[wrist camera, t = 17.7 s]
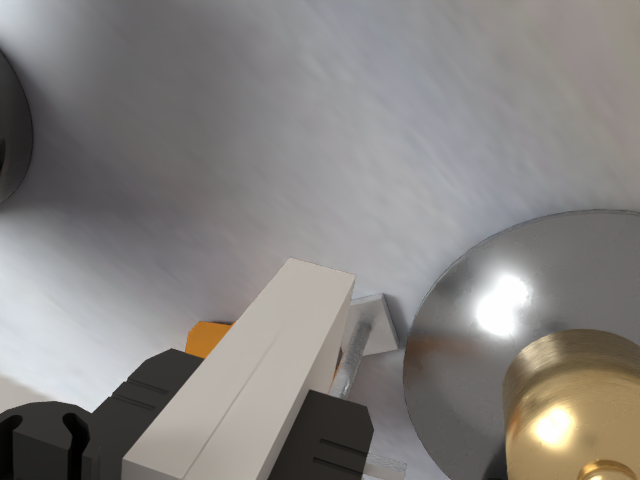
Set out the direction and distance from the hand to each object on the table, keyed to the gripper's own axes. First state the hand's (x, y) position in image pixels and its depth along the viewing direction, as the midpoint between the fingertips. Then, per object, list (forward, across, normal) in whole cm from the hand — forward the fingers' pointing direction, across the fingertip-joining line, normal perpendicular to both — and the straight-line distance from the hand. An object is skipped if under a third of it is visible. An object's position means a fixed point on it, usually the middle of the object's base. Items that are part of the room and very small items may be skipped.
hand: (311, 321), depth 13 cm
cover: (+25, +14, -14) cm, 32 cm away
